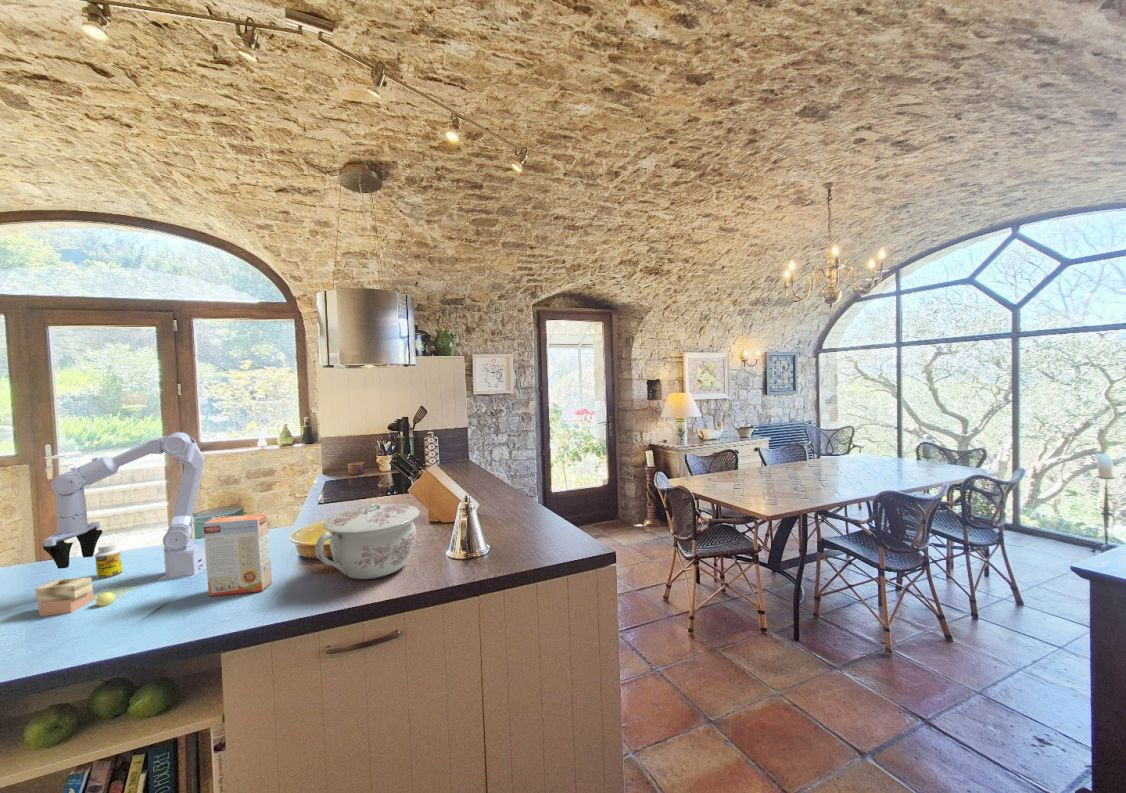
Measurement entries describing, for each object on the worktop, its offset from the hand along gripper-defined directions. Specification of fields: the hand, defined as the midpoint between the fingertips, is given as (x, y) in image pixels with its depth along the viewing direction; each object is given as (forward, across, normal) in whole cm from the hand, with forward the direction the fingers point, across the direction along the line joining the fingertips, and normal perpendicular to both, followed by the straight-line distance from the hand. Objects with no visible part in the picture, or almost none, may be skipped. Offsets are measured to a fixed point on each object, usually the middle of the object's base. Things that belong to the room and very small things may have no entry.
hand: (76, 562), depth 129 cm
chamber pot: (+10, -1, +80) cm, 81 cm away
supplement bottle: (+10, -13, -2) cm, 17 cm away
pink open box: (+10, +8, +4) cm, 14 cm away
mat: (+10, +1, +9) cm, 13 cm away
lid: (+6, +9, +4) cm, 11 cm away
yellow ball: (+10, +8, +13) cm, 18 cm away
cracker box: (+10, +5, +45) cm, 46 cm away
